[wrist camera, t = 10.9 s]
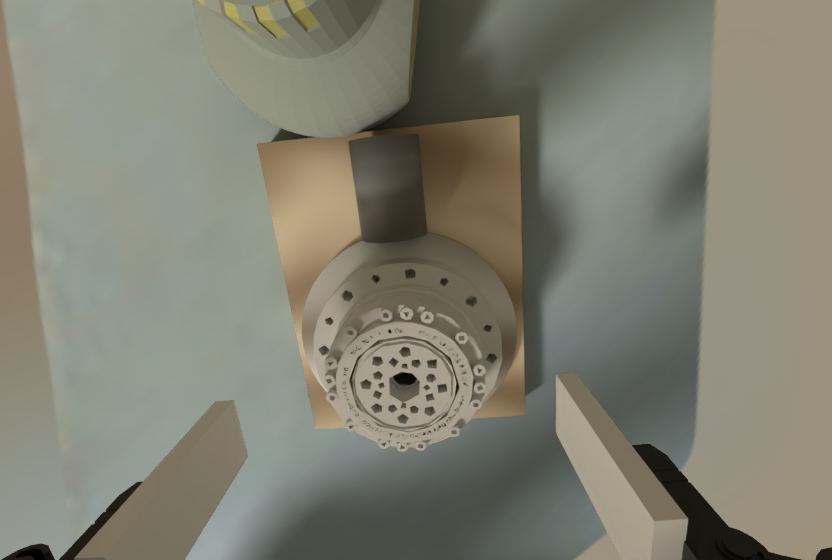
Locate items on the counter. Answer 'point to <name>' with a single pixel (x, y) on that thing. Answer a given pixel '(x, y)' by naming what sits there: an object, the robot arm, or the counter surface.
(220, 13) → the grey rounded piece
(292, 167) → the flange board
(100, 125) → the counter surface
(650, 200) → the counter surface
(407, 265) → the mechanical component
